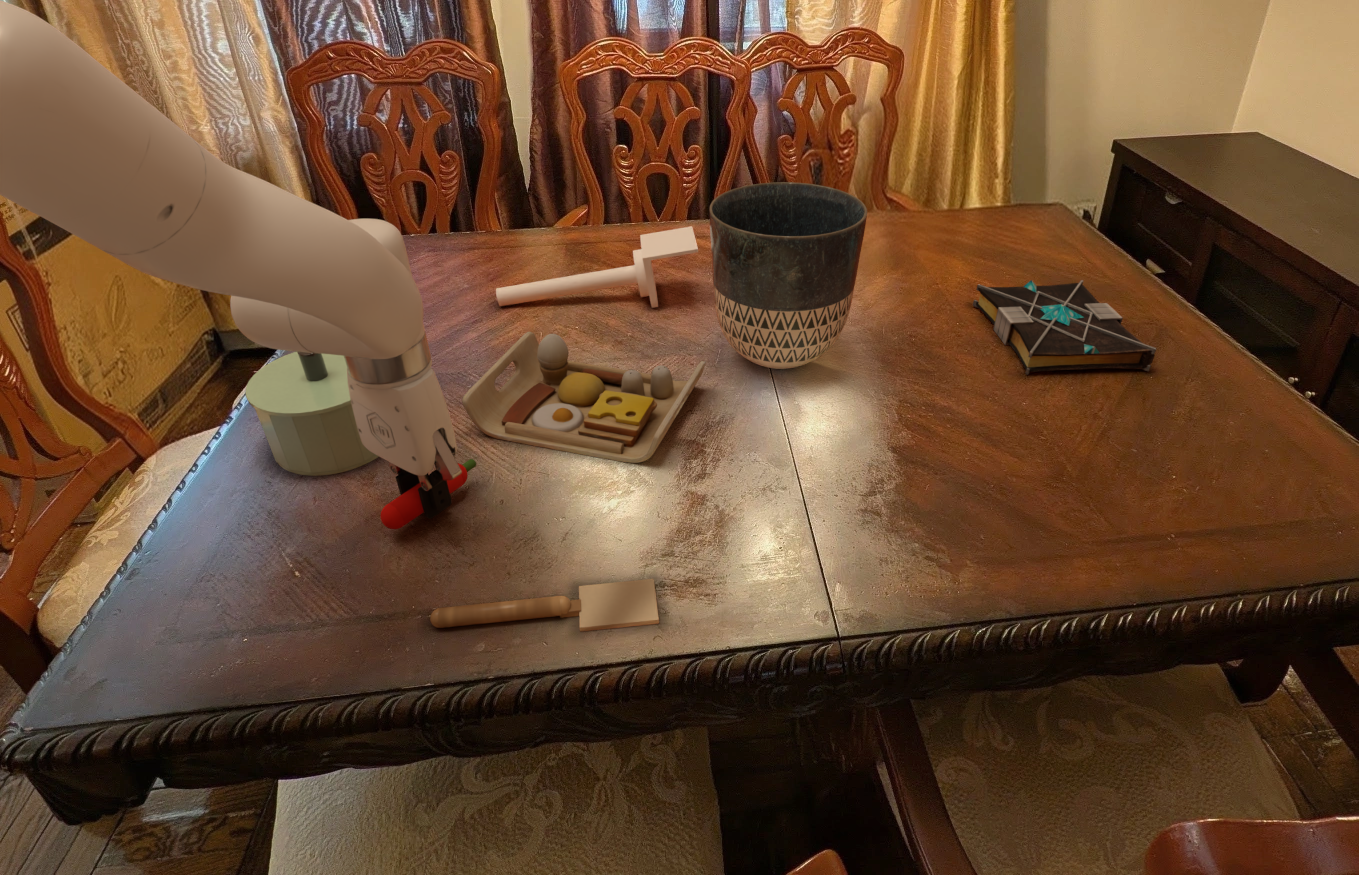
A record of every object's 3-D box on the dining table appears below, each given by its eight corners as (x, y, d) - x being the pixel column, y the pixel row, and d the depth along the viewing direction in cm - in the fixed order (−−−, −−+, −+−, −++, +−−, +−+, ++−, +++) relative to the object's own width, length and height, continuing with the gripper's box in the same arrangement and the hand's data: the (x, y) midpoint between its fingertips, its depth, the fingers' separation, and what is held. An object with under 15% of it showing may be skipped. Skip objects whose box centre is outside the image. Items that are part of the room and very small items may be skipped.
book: (1150, 372, 107) (1162, 339, 104) (1025, 377, 106) (1033, 344, 104) (1077, 300, 124) (1086, 270, 122) (970, 304, 124) (976, 274, 121)
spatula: (428, 647, 72) (424, 634, 70) (436, 604, 76) (432, 591, 75) (659, 623, 73) (658, 610, 72) (653, 582, 77) (653, 569, 76)
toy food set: (467, 434, 98) (456, 381, 94) (534, 362, 112) (526, 313, 108) (662, 470, 92) (659, 415, 87) (707, 389, 106) (707, 338, 101)
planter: (686, 376, 108) (684, 223, 96) (738, 315, 123) (742, 175, 110) (826, 407, 102) (843, 246, 89) (864, 338, 116) (883, 192, 103)
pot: (322, 491, 90) (299, 429, 85) (249, 448, 97) (224, 389, 92) (424, 429, 99) (409, 370, 94) (351, 394, 106) (334, 337, 101)
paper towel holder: (697, 248, 119) (487, 284, 120) (705, 301, 125) (503, 335, 125) (692, 226, 127) (494, 259, 128) (699, 276, 132) (508, 308, 133)
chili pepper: (395, 538, 81) (389, 517, 80) (378, 528, 83) (371, 507, 81) (484, 476, 89) (480, 456, 88) (467, 468, 91) (462, 448, 89)
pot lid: (300, 437, 85) (286, 401, 82) (221, 394, 92) (207, 359, 89) (415, 374, 95) (407, 340, 92) (336, 340, 102) (326, 307, 100)
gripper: (301, 348, 76) (351, 496, 87) (412, 399, 69) (452, 555, 79) (366, 317, 81) (406, 461, 92) (478, 362, 73) (507, 513, 84)
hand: (427, 503), depth 86 cm, fingers closed on chili pepper, 2 cm apart
